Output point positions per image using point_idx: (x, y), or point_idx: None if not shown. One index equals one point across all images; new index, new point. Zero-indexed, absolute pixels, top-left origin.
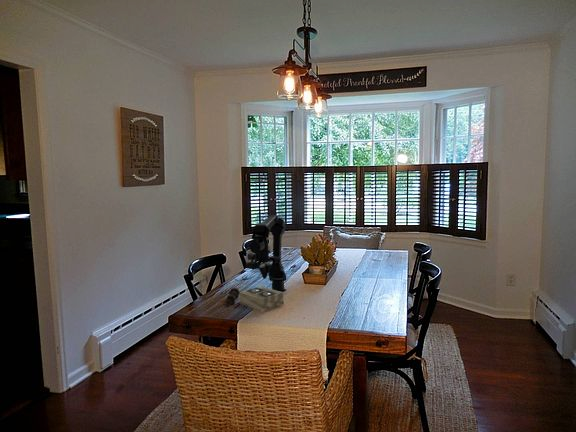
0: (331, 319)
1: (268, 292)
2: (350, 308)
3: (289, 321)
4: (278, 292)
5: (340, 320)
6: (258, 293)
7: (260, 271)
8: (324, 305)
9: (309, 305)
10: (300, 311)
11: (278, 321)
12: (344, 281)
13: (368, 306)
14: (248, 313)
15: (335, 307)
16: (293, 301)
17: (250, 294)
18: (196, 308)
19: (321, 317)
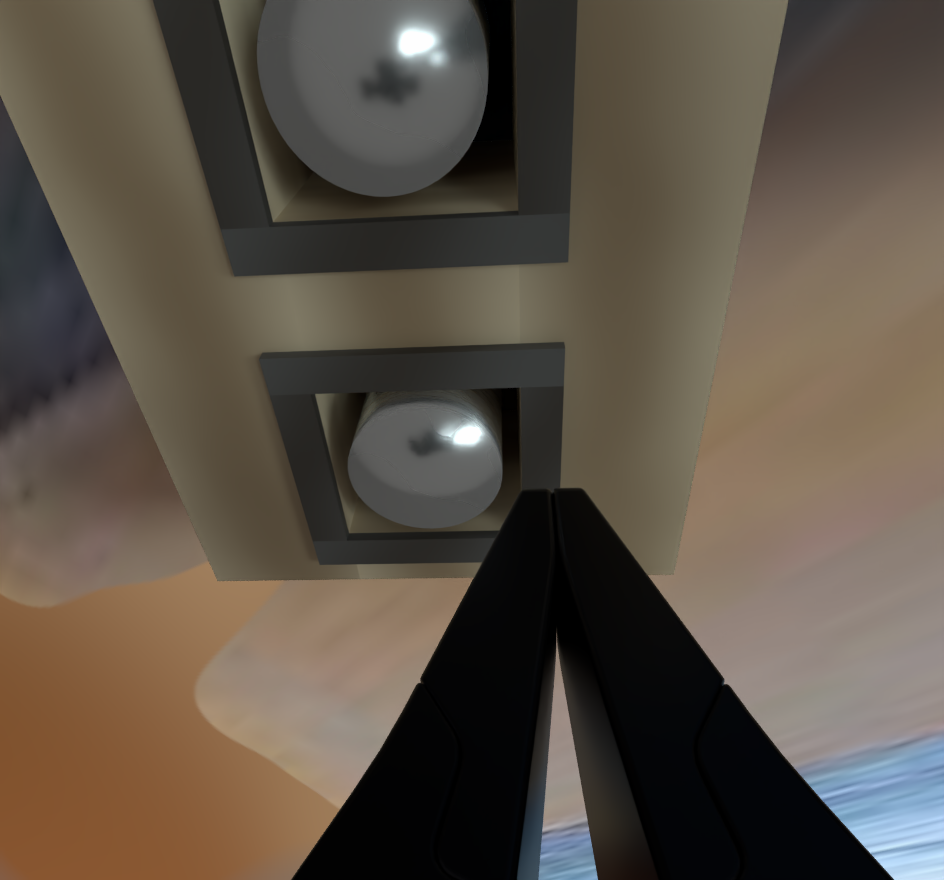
0: (570, 824)
1: (480, 458)
2: (837, 811)
3: (336, 725)
4: (624, 533)
5: (591, 848)
6: (296, 361)
7: (376, 776)
8: (818, 704)
9: (751, 638)
10: (558, 670)
11: (265, 687)
12: None
13: (932, 844)
14: (79, 395)
15: (809, 761)
16: (794, 466)
17: (131, 247)
18: None
19: (558, 789)
